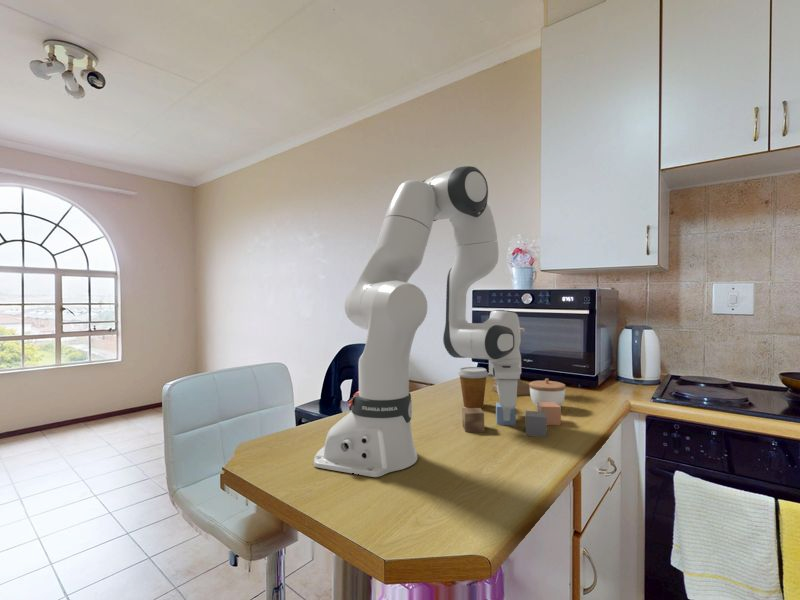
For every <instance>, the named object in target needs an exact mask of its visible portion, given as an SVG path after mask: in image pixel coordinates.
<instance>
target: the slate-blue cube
mask: <svg viewBox="0 0 800 600" xmlns="http://www.w3.org/2000/svg"><path fill="white" fill-rule="evenodd" d="M516 412H517V411H516V407H515V408H514V409H511V413H510V420H509V421H505V420H504V419H503V408H501V405H500V401H498V402H497V401H496V402H495V420H496V425H497V424H498V425H499V424H500V426H516V423H517V421H516V419H517V417H516V415H517V413H516Z"/></svg>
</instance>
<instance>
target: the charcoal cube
mask: <svg viewBox="0 0 800 600" xmlns="http://www.w3.org/2000/svg"><path fill="white" fill-rule="evenodd" d="M524 414H525V416H524V419H525V436H529V437H530V436H531V437H541V438H547V437H548V435H547V431H548V430H547V425H546V412H538V410H537V411H535V410H525V413H524Z"/></svg>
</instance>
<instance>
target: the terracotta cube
mask: <svg viewBox="0 0 800 600" xmlns="http://www.w3.org/2000/svg"><path fill="white" fill-rule="evenodd" d="M537 405H538V408H537V411H538V412H546V426H547V425H548V426H549V425H550V426H551V425H553V426H554V425H555V426H557V425H558V426H561V425H562V411H561V410H562V407H561V406H559V405H558V404H557V403H556V402H537Z"/></svg>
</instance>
